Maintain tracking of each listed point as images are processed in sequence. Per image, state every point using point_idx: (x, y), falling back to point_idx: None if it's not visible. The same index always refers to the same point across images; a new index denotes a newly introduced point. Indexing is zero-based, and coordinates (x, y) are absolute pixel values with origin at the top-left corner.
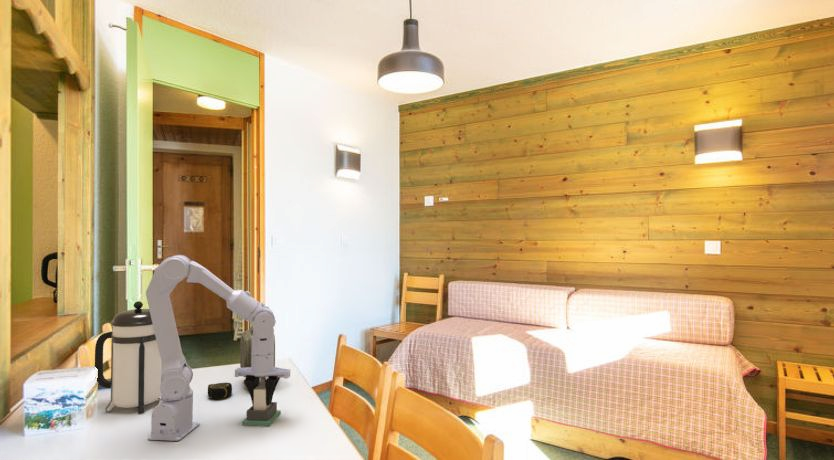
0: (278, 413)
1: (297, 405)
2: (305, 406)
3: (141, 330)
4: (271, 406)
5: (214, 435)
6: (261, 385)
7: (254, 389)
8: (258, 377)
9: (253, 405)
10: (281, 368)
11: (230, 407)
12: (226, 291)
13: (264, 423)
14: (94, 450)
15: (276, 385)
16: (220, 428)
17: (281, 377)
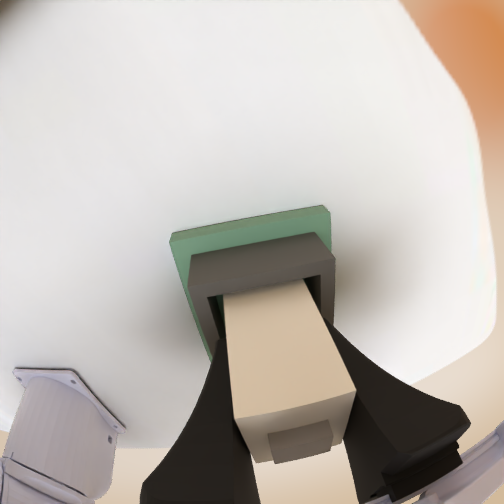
0: (329, 241)
1: (360, 71)
2: (403, 84)
3: None
4: (327, 319)
5: (177, 405)
6: (297, 457)
7: (259, 461)
8: (243, 499)
9: (210, 338)
10: (501, 484)
11: (16, 213)
12: None
13: None
14: None
15: (403, 382)
16: (153, 377)
17: (469, 450)
